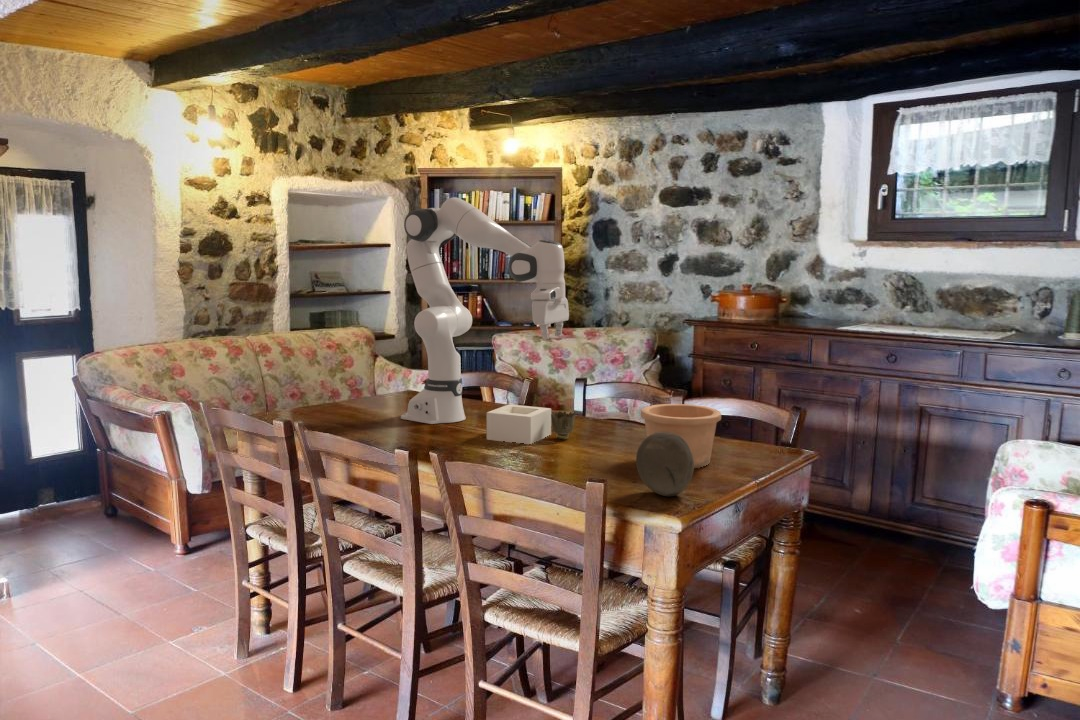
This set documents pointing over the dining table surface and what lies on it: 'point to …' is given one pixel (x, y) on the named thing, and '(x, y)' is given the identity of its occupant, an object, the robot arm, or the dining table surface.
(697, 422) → the pottery
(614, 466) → the dining table surface
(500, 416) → the cream box
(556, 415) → the cup
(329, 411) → the dining table surface
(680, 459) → the dark round stone
